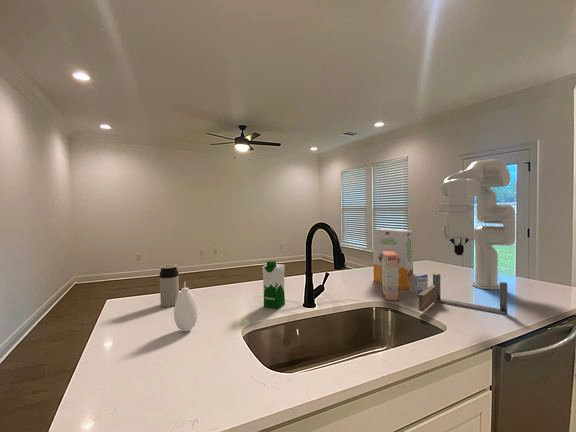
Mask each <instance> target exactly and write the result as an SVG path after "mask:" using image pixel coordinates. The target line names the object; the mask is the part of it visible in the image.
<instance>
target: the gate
mask: <svg viewBox="0 0 576 432" xmlns="http://www.w3.org/2000/svg"><path fill="white" fill-rule="evenodd" d="M437 287H438V285H437V284H433V283H432V284H430V286H429V285H428V288H427V289H425V290H424V291H422V292H421V293H419V294H417V297H418V311H419V312H425V310H427V309H429V307H430V306H431V305H433V303H436V302H435V301H436V300H437Z"/></svg>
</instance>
